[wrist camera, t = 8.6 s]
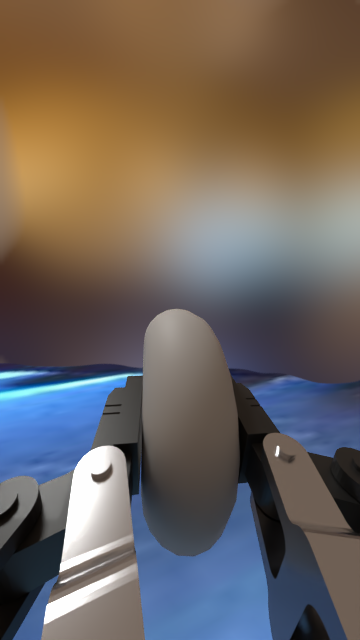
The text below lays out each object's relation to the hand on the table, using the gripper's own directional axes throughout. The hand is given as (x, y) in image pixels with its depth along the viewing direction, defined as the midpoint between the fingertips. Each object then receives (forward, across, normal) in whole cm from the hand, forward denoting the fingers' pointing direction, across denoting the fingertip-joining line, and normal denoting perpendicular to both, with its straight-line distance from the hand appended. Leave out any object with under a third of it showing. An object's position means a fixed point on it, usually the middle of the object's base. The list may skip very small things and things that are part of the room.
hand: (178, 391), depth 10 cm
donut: (0, 0, +6) cm, 6 cm away
